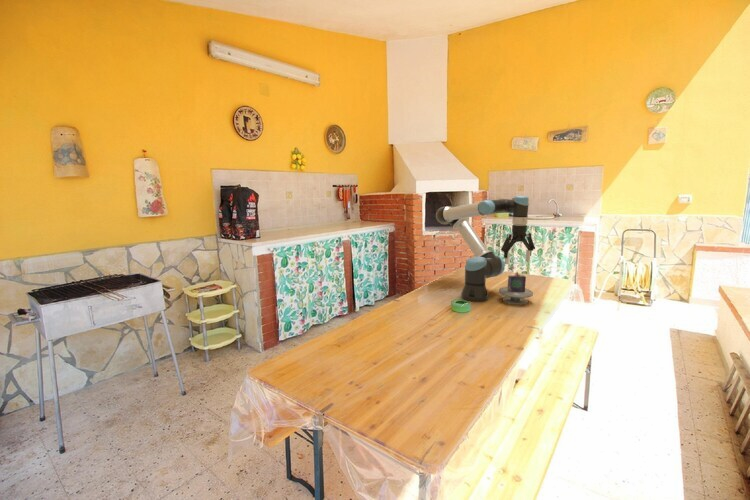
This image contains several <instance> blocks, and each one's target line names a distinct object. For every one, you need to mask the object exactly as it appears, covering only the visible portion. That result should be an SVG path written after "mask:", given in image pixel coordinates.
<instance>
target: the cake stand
mask: <svg viewBox="0 0 750 500" xmlns="http://www.w3.org/2000/svg"><path fill="white" fill-rule="evenodd" d="M498 293H499V294H500V295H502V296H504V297H503V298H502V302H504V303H505V304H508V305H512V306H525V305H527V304H528V303H529V302H528V299H529V298H531V297H533V296H534V292H533V291H532V290H531V289H528V288H526V287H525V292H510V291H508V286H503V287H500V288H498ZM527 298H528V299H527Z"/></svg>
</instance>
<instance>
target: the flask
mask: <svg viewBox="0 0 750 500" xmlns="http://www.w3.org/2000/svg"><path fill="white" fill-rule="evenodd" d="M507 277H508V278H507V287H508V291H510V292H525V288H526V279H527V277H526V276H525V275H524V274H520V273H519V272H515V275H511V274H509V275H508V276H507Z"/></svg>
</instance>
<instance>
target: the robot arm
mask: <svg viewBox="0 0 750 500" xmlns="http://www.w3.org/2000/svg"><path fill="white" fill-rule="evenodd" d="M529 205H530V203H529V196H527V195H514V197H513V199H509V198H497V199H485V200H482V201H478V202H473V203H468V204H463V205H459V204H457V205H446V206H440V208H438V209H437V211H436V212H435V219H436V221H437V222H438V223H440V224H441V225H450V226H451V227H452V228H453V230H456V231H458V233H459V234H460V236H461V238H462V239H463V241H464V242H465V244H467V246H468V248H469V250H470V251H471V253H472V254H473V255H474V256H472V257H469V258H467V259H466V260H465V265H464V284H463V287H462V290H461V293H460V295H461V296H460V298H462V299H463V300H465V301H469V302H485V301H488V299H489V294H488V290H487V286H486V284H487V283H486V281H487V280H486V279H489V278H493V277H494V278H495V277H497V276H500V275H502V274H503V273H504V271H505V267H506V265H509V264H510V252H509V251H510V250H511V249H512V248H513V246H514V245H515V244H516V243H520V242H521V243H523V245H524V246H525V248H526V251H525V262H526V263H531V256H532V252H533V251H534V250H535V249H536V246H535V244H534V241H533V238H532V234H531V233H532V232H531V233H530V232H527V231H528V217H529V214H528V213H529ZM493 214H494V215H495V214H512V219H511V220H512V221H511V223H512V225H511V232H512V233H511V234H510V233H507V234H506V238H505V240H504V242H503V243H502V244H503V245H502V246H501V248H500V251H501V252H503V258H504V259H503V258H502V257H501V256H498V255H496V254H495V252H494V251H492V250H489V249H488V247H487V245H485V243H484V242H483V241H482V239H481V238H480V236H479V235H478V233H477V231H476V230H475V229H474V228H473V226H472V225H471V223H470V222H469V221H470V218H473V217H479V216H488V215H493Z"/></svg>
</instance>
